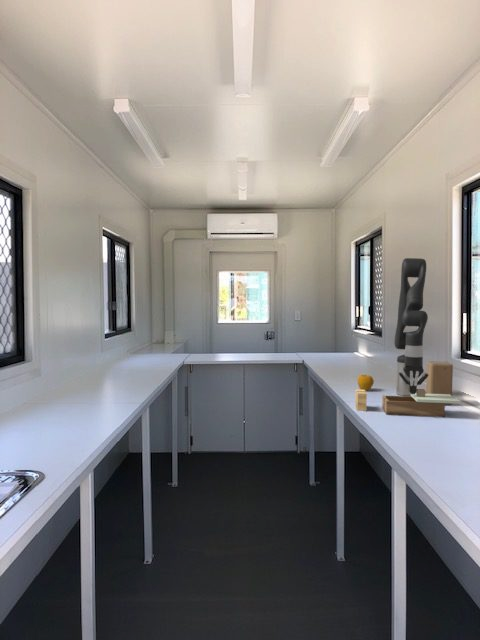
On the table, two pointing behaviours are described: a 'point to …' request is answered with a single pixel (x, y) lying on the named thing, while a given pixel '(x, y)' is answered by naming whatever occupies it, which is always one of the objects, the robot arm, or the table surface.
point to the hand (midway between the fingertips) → (412, 393)
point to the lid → (433, 397)
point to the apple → (365, 382)
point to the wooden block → (439, 378)
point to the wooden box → (411, 407)
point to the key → (361, 400)
